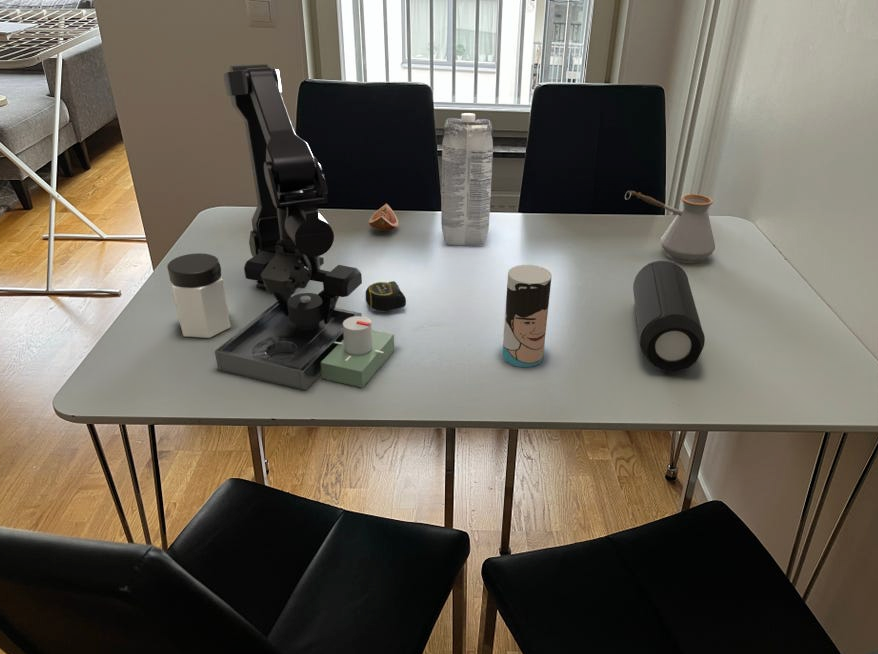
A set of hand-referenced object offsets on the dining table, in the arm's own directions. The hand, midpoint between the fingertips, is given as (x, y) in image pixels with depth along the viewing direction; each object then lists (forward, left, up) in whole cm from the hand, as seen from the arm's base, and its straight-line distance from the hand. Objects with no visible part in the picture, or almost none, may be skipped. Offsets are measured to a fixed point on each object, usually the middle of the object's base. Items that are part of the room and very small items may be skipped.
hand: (307, 319), depth 119 cm
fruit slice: (-8, +48, -3) cm, 49 cm away
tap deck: (+12, -5, -3) cm, 13 cm away
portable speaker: (+57, +22, -3) cm, 61 cm away
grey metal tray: (0, -5, -3) cm, 6 cm away
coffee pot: (+54, +58, -3) cm, 79 cm away
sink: (0, -5, -3) cm, 6 cm away
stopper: (0, 0, -1) cm, 1 cm away
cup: (+36, +7, -3) cm, 37 cm away
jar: (-18, -4, -3) cm, 19 cm away
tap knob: (+12, -5, 0) cm, 13 cm away
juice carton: (+11, +50, -3) cm, 51 cm away
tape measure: (+8, +15, -3) cm, 17 cm away
